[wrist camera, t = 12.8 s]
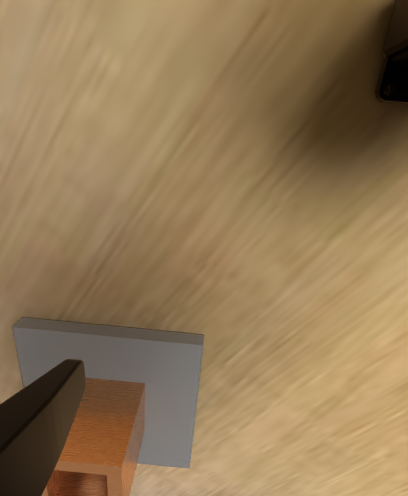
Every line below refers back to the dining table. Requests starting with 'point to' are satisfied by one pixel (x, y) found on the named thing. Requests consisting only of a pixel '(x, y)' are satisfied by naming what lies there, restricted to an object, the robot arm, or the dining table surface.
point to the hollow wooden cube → (102, 441)
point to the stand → (126, 373)
